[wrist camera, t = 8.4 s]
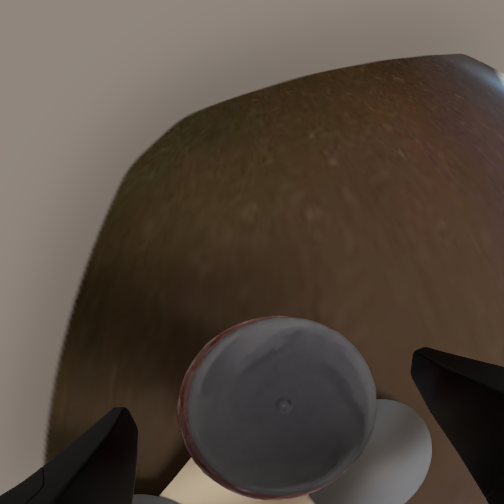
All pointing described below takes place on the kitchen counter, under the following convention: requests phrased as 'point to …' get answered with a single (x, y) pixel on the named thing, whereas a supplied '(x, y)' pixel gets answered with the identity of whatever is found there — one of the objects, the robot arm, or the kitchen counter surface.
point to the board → (346, 485)
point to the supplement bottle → (276, 407)
